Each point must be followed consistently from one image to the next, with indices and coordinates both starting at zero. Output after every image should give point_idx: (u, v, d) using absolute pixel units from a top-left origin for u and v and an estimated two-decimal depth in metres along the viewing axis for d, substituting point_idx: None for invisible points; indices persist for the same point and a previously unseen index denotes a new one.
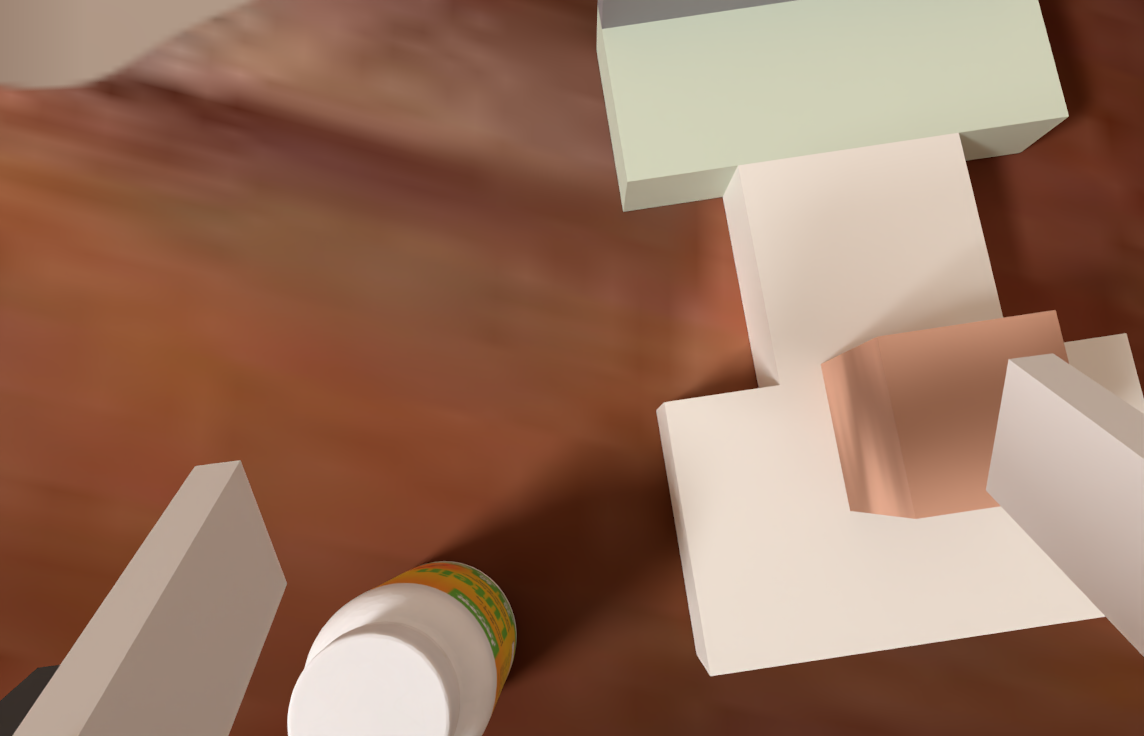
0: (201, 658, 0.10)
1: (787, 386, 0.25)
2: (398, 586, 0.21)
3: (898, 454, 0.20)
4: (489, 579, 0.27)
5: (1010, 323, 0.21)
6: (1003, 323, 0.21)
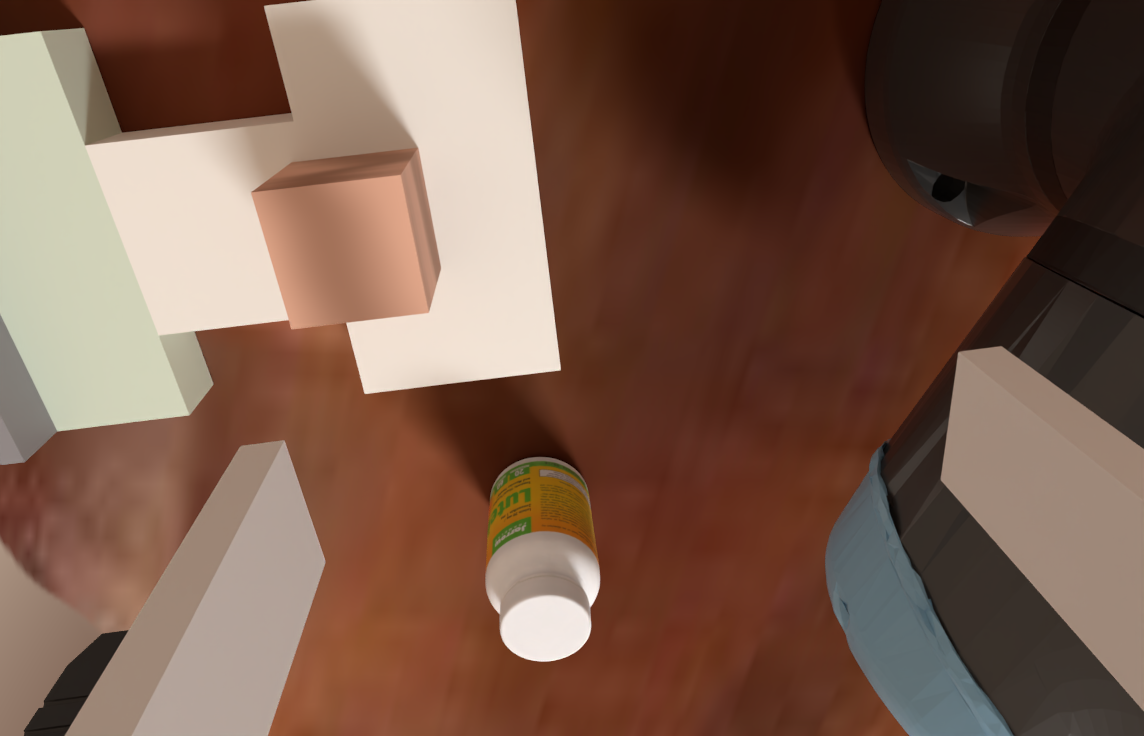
0: (255, 626, 0.11)
1: None
2: None
3: (382, 316, 0.27)
4: (501, 476, 0.39)
5: (267, 230, 0.25)
6: (268, 235, 0.25)
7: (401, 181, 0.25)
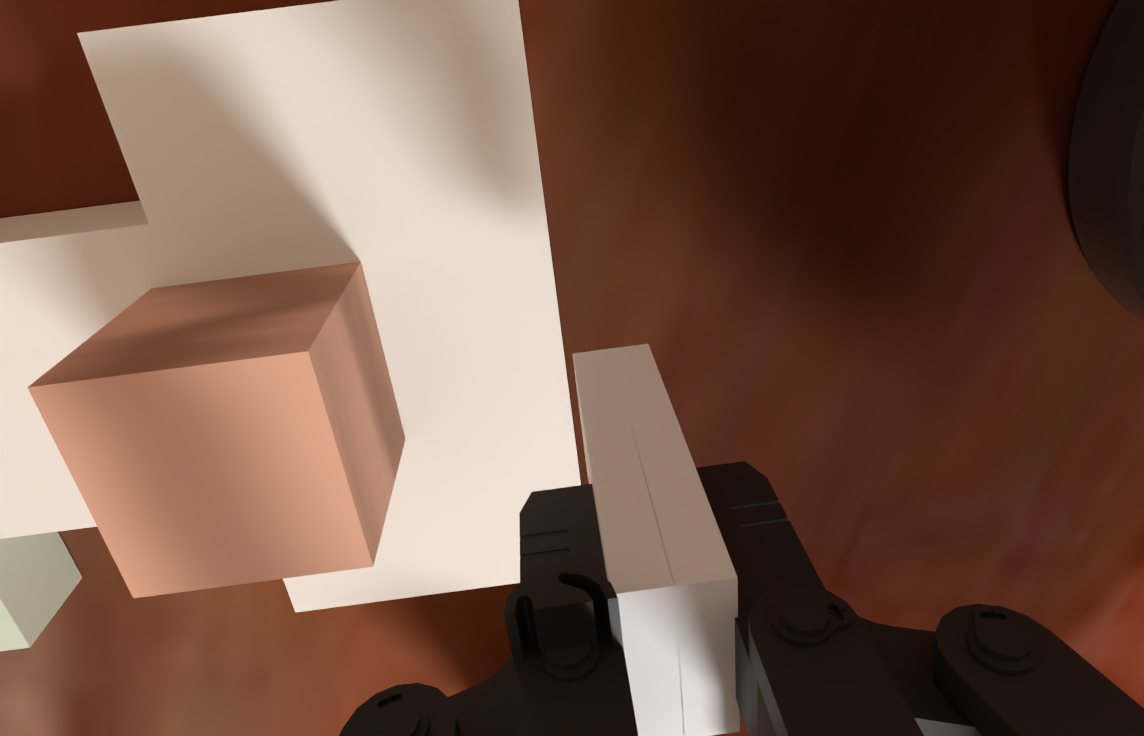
0: None
1: None
2: None
3: (292, 570, 0.16)
4: None
5: (68, 448, 0.14)
6: (71, 456, 0.14)
7: (310, 361, 0.13)
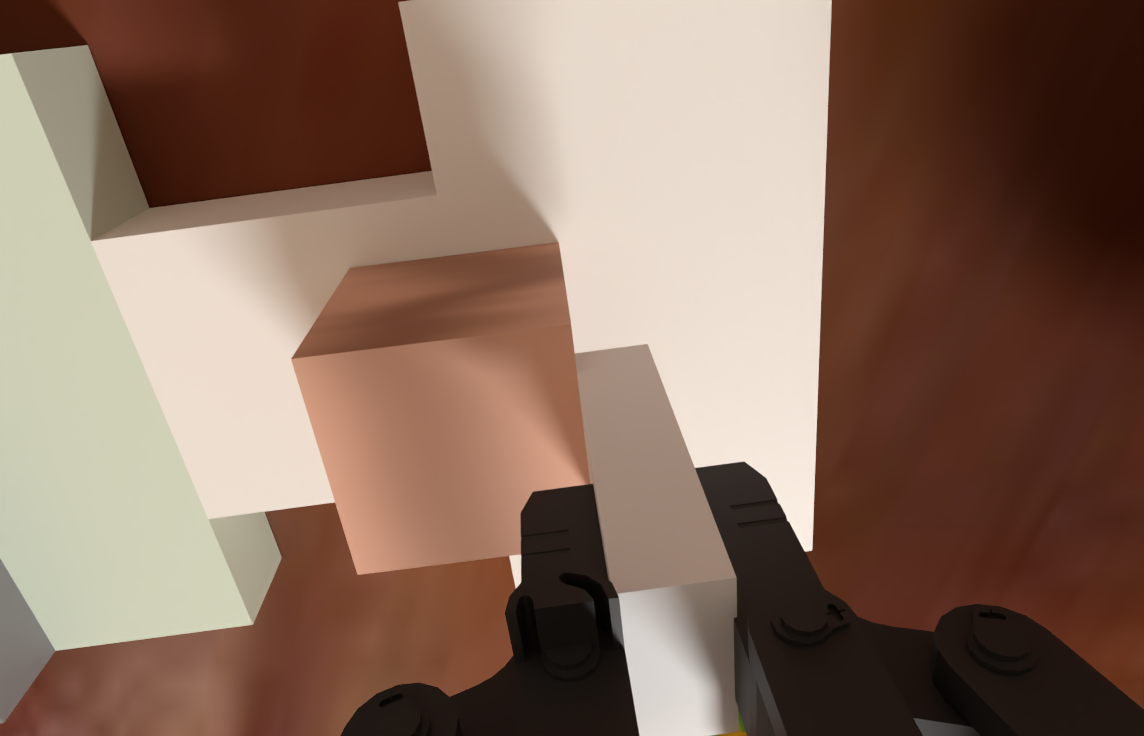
0: None
1: None
2: None
3: (513, 548, 0.16)
4: None
5: (320, 421, 0.14)
6: (321, 429, 0.14)
7: (571, 335, 0.13)
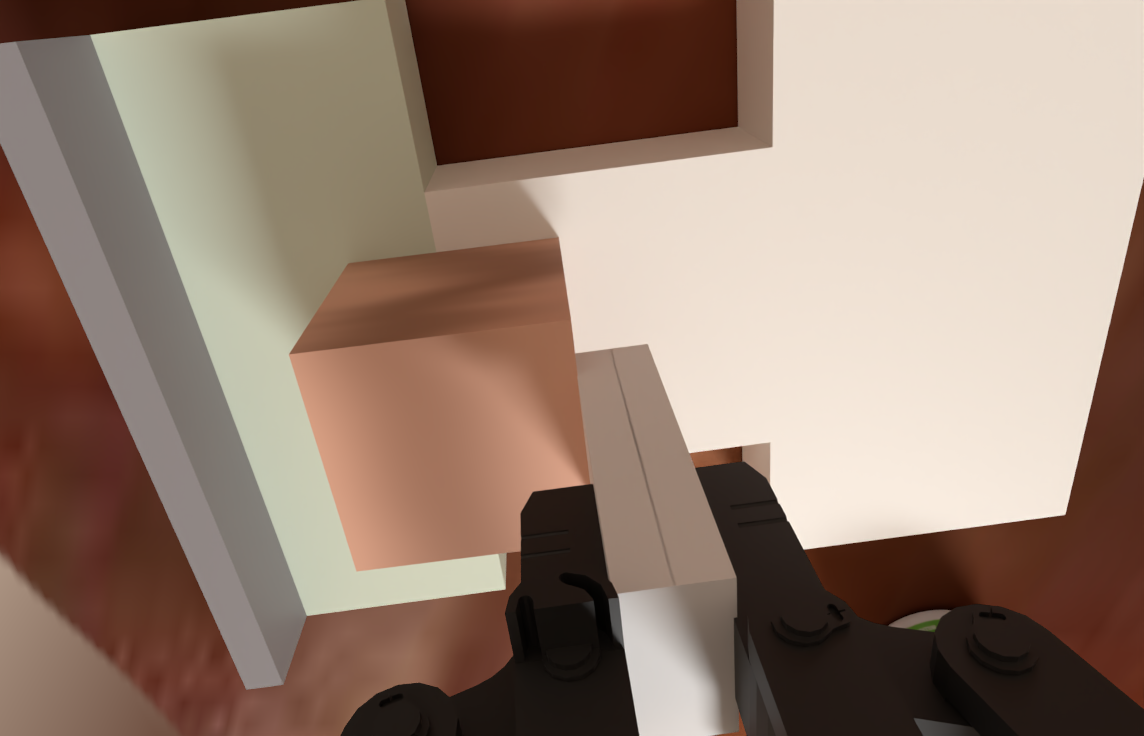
0: None
1: (773, 434, 0.20)
2: None
3: (513, 545, 0.16)
4: None
5: (318, 417, 0.14)
6: (319, 425, 0.14)
7: (571, 330, 0.13)
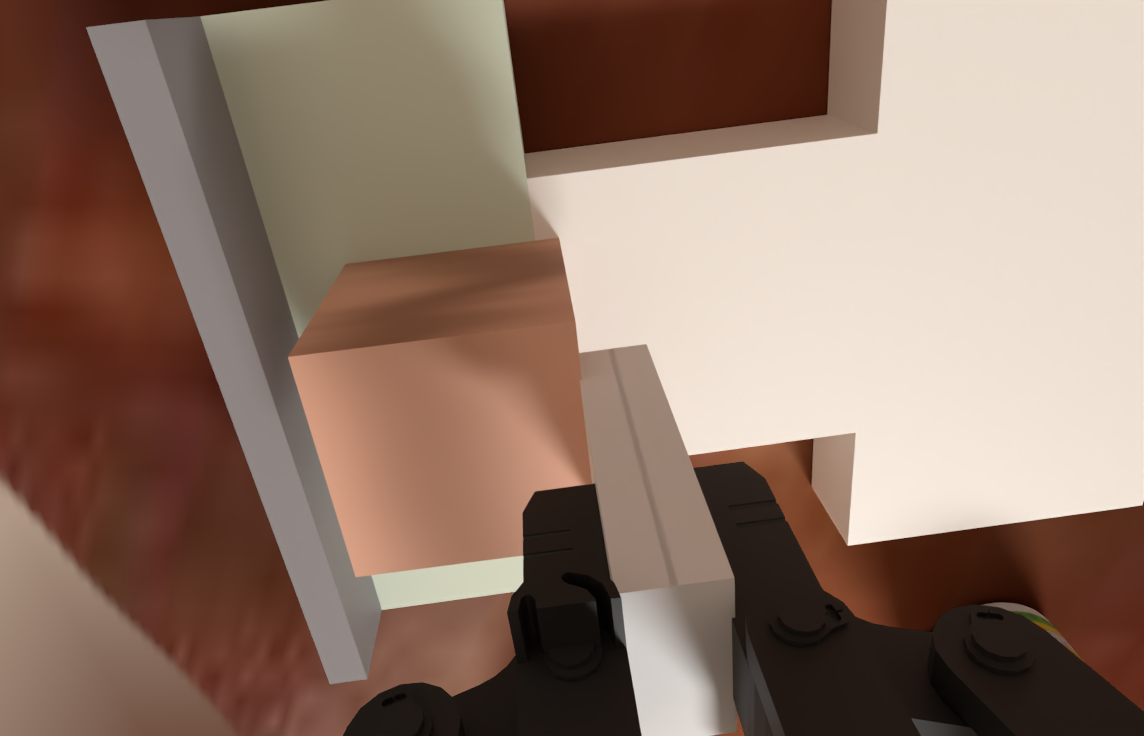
0: None
1: (859, 425, 0.20)
2: None
3: (515, 548, 0.15)
4: None
5: (318, 421, 0.13)
6: (319, 429, 0.14)
7: (575, 332, 0.13)
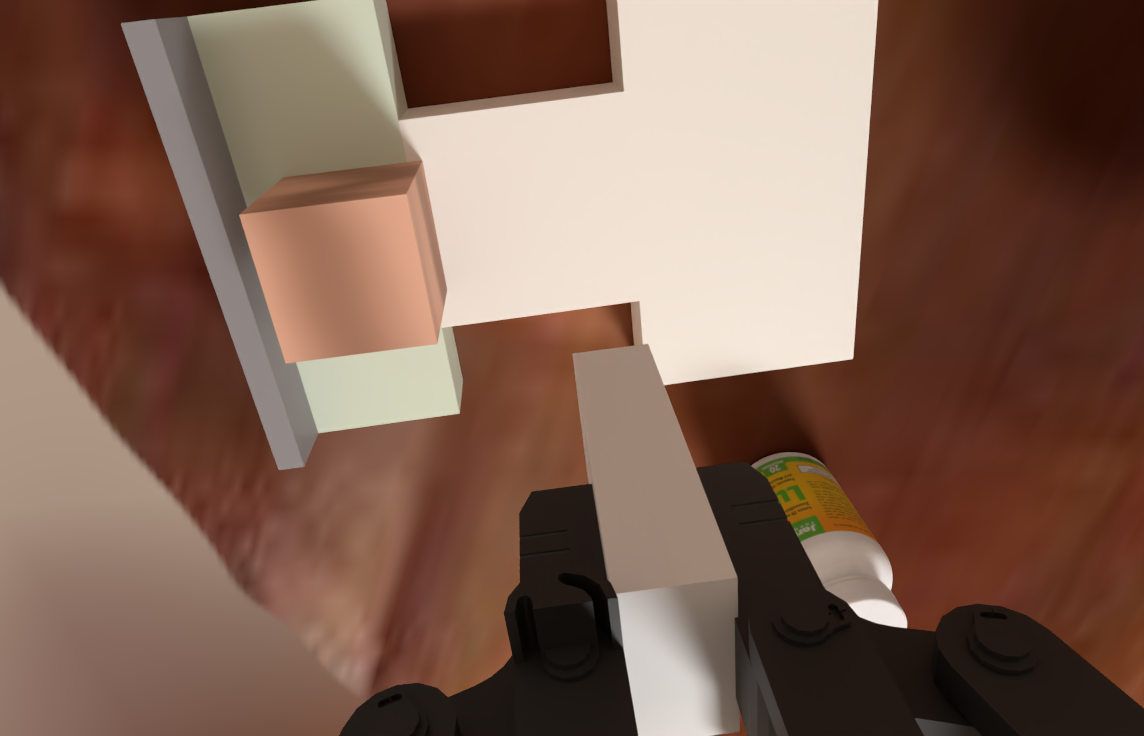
0: None
1: (641, 295, 0.30)
2: None
3: (385, 347, 0.25)
4: None
5: (258, 256, 0.23)
6: (259, 261, 0.23)
7: (407, 201, 0.22)
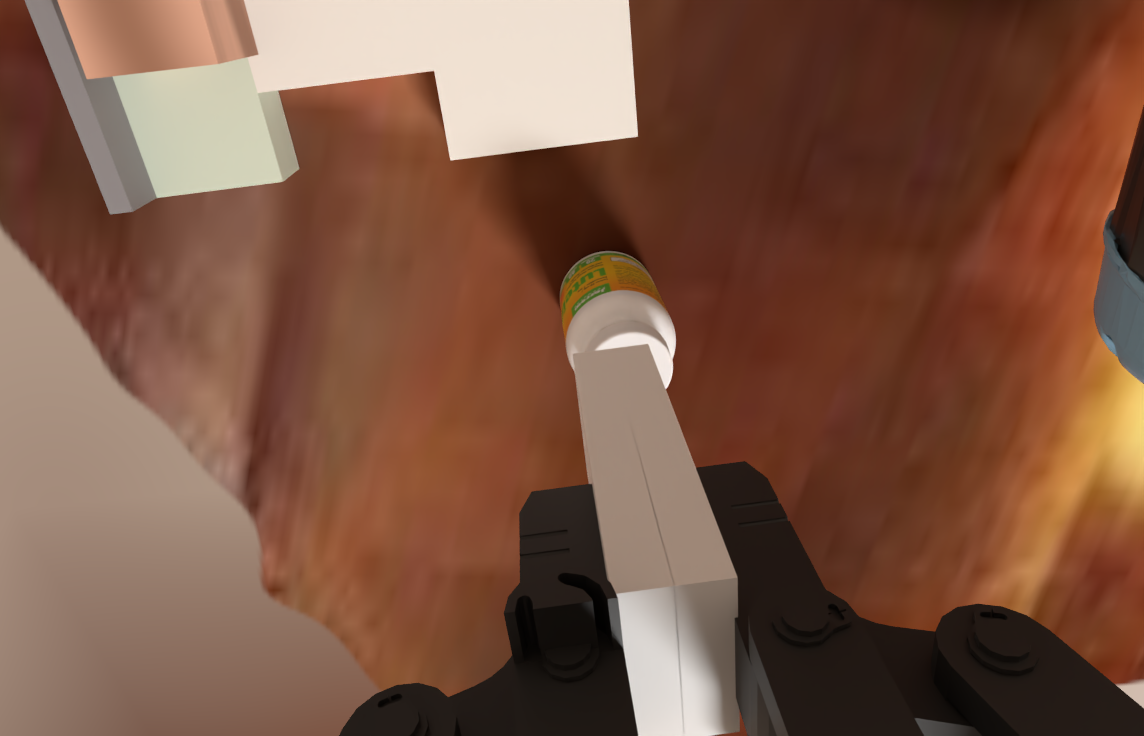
0: None
1: (435, 65, 0.33)
2: (567, 346, 0.36)
3: (174, 68, 0.29)
4: (572, 269, 0.41)
5: None
6: None
7: None
